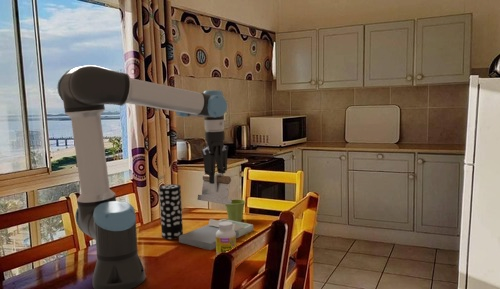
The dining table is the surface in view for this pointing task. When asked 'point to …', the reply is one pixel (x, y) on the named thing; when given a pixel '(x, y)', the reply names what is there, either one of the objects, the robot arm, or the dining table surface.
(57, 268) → the dining table surface
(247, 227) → the tray
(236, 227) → the tile right
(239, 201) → the plant pot
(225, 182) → the scraper
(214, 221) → the tile left
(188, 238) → the board
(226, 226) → the supplement bottle
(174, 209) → the spotted tube
